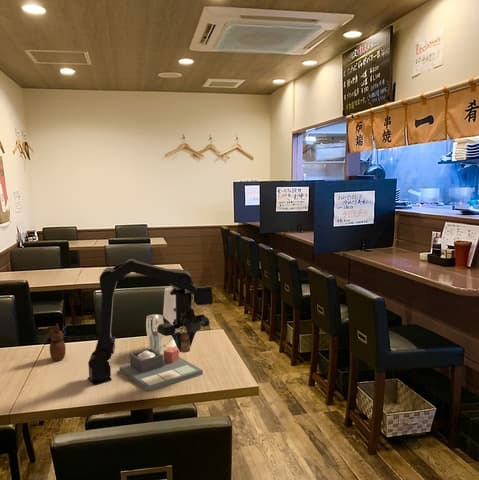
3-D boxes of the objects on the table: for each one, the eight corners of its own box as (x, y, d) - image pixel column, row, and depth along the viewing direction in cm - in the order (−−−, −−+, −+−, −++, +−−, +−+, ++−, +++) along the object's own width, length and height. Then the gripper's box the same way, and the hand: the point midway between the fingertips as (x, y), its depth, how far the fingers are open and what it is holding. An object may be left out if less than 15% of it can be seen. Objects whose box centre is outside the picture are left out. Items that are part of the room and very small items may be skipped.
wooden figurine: (66, 361, 184) (64, 323, 182) (50, 363, 182) (48, 325, 180) (65, 354, 190) (63, 318, 188) (50, 357, 188) (48, 320, 186)
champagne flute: (164, 347, 198) (163, 291, 195) (162, 341, 204) (161, 287, 201) (180, 346, 200) (179, 290, 196) (178, 340, 206) (177, 286, 203)
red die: (172, 362, 179) (172, 352, 178) (164, 360, 181) (163, 350, 180) (178, 359, 182) (178, 349, 181) (170, 357, 184) (170, 347, 183)
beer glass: (166, 349, 196) (165, 314, 194) (161, 356, 189) (160, 319, 187) (149, 348, 197) (148, 313, 194) (144, 355, 190) (143, 319, 188)
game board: (148, 391, 159) (147, 374, 158) (119, 370, 176) (118, 354, 175) (202, 373, 172) (202, 358, 172) (171, 355, 189) (170, 341, 188)
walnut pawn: (182, 353, 168) (182, 335, 167) (176, 350, 171) (176, 331, 170) (192, 350, 171) (192, 332, 170) (186, 347, 174) (186, 329, 173)
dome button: (142, 367, 171) (142, 355, 170) (134, 362, 176) (134, 350, 175) (158, 363, 175) (158, 351, 174) (150, 357, 180) (149, 346, 179)
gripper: (172, 316, 157) (173, 361, 159) (218, 306, 168) (218, 348, 171) (156, 308, 165) (157, 351, 167) (200, 299, 177) (201, 339, 179)
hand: (184, 347), depth 171 cm, fingers closed on walnut pawn, 4 cm apart
